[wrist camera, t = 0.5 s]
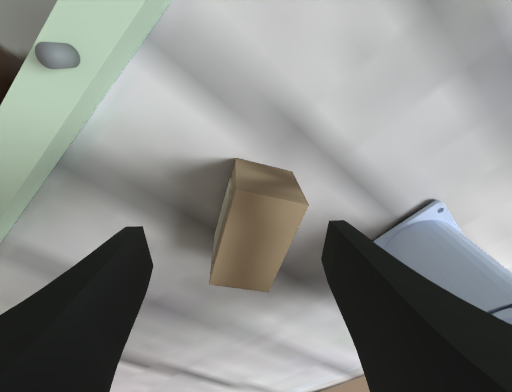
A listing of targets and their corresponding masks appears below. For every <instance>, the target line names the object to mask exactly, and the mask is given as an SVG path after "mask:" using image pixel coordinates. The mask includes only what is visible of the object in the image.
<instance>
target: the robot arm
mask: <svg viewBox="0 0 512 392" xmlns="http://www.w3.org/2000/svg"><path fill="white" fill-rule="evenodd" d="M321 260H322V263H323V267H324V271H325V274H326V277H327V281H328V284H329V286H330V288H331V291H332V293H333V295H334V298H335V300H336V303H337V305H338V307H339V309H340V312H341V314H342V316H343V319H344V321H345V323H346V326H347V328H348V330H349V333H350V335H351V337H352V340H353V342H354V345H355V347H356V350H357V353H358V356H359V359H360V362H361V365H362V368H363V371H364V374H365V377H366V380H367V383H368V386H369V390H370V392H512V273H511V272H510V271H509V270H508V269H506V268H505V267H504V266H502V265H501V264H500V263H499V262H497V261H496V260H495V259H494V258H492V257H491V256H490V255H488V254H487V253H486V252H485V251H483V250H482V249H481V248H480V247H478V246H477V245H476V244H474V243H473V242H472V241H471V240H469V239H468V238H467V237H466V236H464V234H463V233H462V231H461V230H460V228H459V227H458V225H457V223H456V222H455V220H454V219H453V217H452V216H451V214H450V213H449V211H448V209H447V208H446V206H445V205H444V203H443V202H441V201H440V200H435V201H433V202H432V203H430V204H429V205H427V206H426V207H424V208H423V209H421V210H420V211H418V212H417V213H415V214H414V215H412V216H411V217H409V218H408V219H406V220H405V221H403V222H402V223H400V224H398V225H397V226H395V227H394V228H392V229H391V230H389V231H388V232H386V233H385V234H383V235H382V236H380V237H379V238H377V239H376V240H374V241H372V240H370V239H369V238H368V237H366V236H365V235H364V234H362V233H361V232H360V231H358V230H357V229H356V228H354V227H353V226H352V225H350V224H349V223H347V222H346V221H344V220H340V221H329V224H328V229H327V234H326V238H325V243H324V248H323V253H322V258H321ZM152 269H153V263H152V259H151V255H150V252H149V248H148V244H147V241H146V237H145V233H144V230H143V226H139V227H125V228H124V229H122V230H121V231H119V232H118V233H117V234H115V235H114V236H113V237H111V238H110V239H109V240H107V241H106V242H105V243H103V244H102V245H101V246H100V247H98V248H97V249H96V250H94V251H93V252H92V253H90V254H89V255H88V256H86V257H85V258H84V259H82V260H81V261H80V262H79V263H77V264H76V265H75V266H73V267H72V268H70V269H69V270H67V271H66V272H65V273H63V274H62V275H60V276H59V277H58V278H56V279H55V280H53V281H52V282H51V283H49V284H48V285H46V286H45V287H43V288H42V289H41V290H39V291H38V292H36V293H35V294H33V295H32V296H30V297H28V298H27V299H25V300H24V301H22V302H21V303H19V304H18V305H16V306H14V307H13V308H11V309H10V310H8V311H6V312H5V313H3V314H1V315H0V392H109V391H110V388H111V384H112V381H113V378H114V375H115V371H116V368H117V365H118V362H119V360H120V357H121V354H122V352H123V349H124V347H125V344H126V342H127V339H128V337H129V334H130V332H131V329H132V327H133V324H134V322H135V319H136V317H137V315H138V312H139V310H140V307H141V305H142V302H143V300H144V297H145V294H146V292H147V288H148V285H149V281H150V277H151V273H152Z"/></svg>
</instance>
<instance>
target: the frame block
mask: <svg viewBox="0 0 512 392" xmlns="http://www.w3.org/2000/svg"><path fill="white" fill-rule="evenodd" d="M308 206H309V205H308V203H307V201H306V198H305V196H304V194H303V192H302V190H301V188H300V186H299V184H298V182H297V180H296V178H295V176H294V174H293V172H292V171H288V170H283V169H279V168H275V167H271V166H267V165H263V164H259V163H255V162H251V161H247V160H243V159H239V158H236V159H235V162H234V166H233V170H232V174H231V177H230V178H229V182H228V186H227V190H226V194H225V197H224V201H223V205H222V209H221V213H220V216H219V220H218V224H217V228H216V232H215V235H214V243H213V252H212V261H211V272H210V281H209V284H210V285H218V286H225V287H233V288H240V289H248V290H255V291H263V292H269V290H270V288H271V286H272V283H273V281H274V279H275V277H276V275H277V273H278V270H279V268H280V266H281V264H282V262H283V260H284V258H285V255H286V253H287V251H288V249H289V247H290V245H291V242H292V240H293V238H294V236H295V234H296V232H297V229H298V227H299V225H300V223H301V221H302V219H303V217H304V214H305V212H306V210H307V208H308Z"/></svg>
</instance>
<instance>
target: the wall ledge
mask: <svg viewBox="0 0 512 392" xmlns="http://www.w3.org/2000/svg"><path fill="white" fill-rule="evenodd" d="M171 1H172V0H58V1H57V3H56V4H55V6H54V8H53V10H52V12H51V13H50V15H49V17H48V19H47V21H46V23H45V25H44V26H43V28H42V30H41V32H40V34H39V36H38V37H37V39H36V41H35V43H34V45H33V47H32V48H31V50H30V52H29V54H28V56H27V58H26V59H25V61H24V63H23V65H22V67H21V69H20V71H19V72H18V74H17V76H16V78H15V80H14V82H13V83H12V85H11V87H10V89H9V91H8V93H7V94H6V96H5V98H4V100H3V102H2V104H1V105H0V243H1V242H2V241H3V239H4V238H5V236H6V235H7V233H8V232H9V231H10V229H11V228H12V226H13V225H14V224H15V222H16V221H17V219H18V218H19V216H20V215H21V214H22V212H23V211H24V209H25V208H26V207H27V205H28V204H29V202H30V201H31V199H32V198H33V197H34V195H35V194H36V192H37V191H38V190H39V188H40V187H41V185H42V184H43V182H44V181H45V180H46V178H47V177H48V175H49V174H50V173H51V171H52V170H53V168H54V167H55V166H56V164H57V163H58V161H59V160H60V158H61V157H62V156H63V154H64V153H65V151H66V150H67V149H68V147H69V146H70V144H71V143H72V141H73V140H74V139H75V137H76V136H77V134H78V133H79V132H80V130H81V129H82V127H83V126H84V124H85V123H86V122H87V120H88V119H89V117H90V116H91V115H92V113H93V112H94V110H95V109H96V107H97V106H98V105H99V103H100V102H101V100H102V99H103V98H104V96H105V95H106V93H107V92H108V91H109V89H110V88H111V86H112V85H113V83H114V82H115V81H116V79H117V78H118V76H119V75H120V74H121V72H122V71H123V69H124V68H125V66H126V65H127V64H128V62H129V61H130V59H131V58H132V57H133V55H134V54H135V52H136V51H137V49H138V48H139V47H140V45H141V44H142V42H143V41H144V40H145V38H146V37H147V35H148V34H149V32H150V31H151V30H152V28H153V27H154V25H155V24H156V23H157V21H158V20H159V18H160V17H161V16H162V14H163V13H164V11H165V10H166V8H167V7H168V6H169V4H170V3H171Z"/></svg>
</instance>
